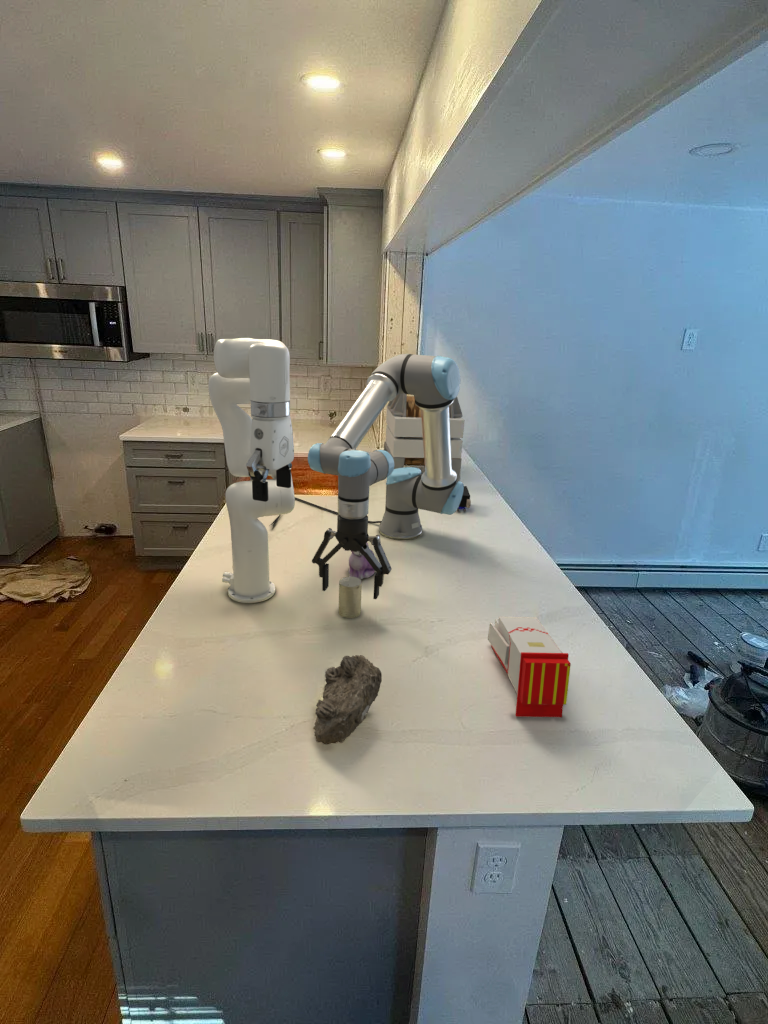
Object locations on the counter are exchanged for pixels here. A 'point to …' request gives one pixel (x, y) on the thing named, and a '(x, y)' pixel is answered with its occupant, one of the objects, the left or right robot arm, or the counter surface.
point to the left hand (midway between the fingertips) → (272, 493)
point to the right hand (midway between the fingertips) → (350, 592)
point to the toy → (531, 665)
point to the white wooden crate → (418, 433)
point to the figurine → (359, 566)
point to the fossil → (346, 698)
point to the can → (350, 597)
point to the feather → (275, 521)
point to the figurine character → (465, 500)
